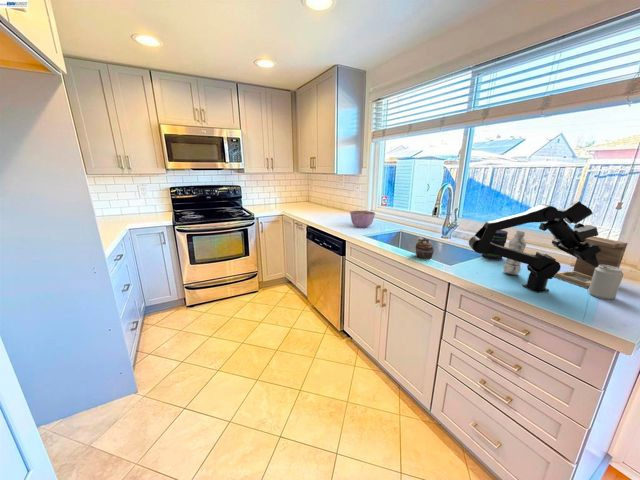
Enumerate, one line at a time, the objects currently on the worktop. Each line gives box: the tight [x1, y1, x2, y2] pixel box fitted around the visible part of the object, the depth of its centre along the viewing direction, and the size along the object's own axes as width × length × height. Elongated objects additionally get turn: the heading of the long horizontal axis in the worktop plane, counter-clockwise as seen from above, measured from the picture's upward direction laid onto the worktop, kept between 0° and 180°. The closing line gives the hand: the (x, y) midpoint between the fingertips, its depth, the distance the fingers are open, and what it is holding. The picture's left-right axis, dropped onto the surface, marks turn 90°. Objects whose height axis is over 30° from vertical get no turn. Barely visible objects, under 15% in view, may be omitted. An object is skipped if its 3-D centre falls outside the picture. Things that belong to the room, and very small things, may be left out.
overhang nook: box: [553, 236, 628, 289], centre depth 116 cm, size 17×14×18 cm
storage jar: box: [481, 229, 509, 261], centre depth 145 cm, size 10×10×15 cm
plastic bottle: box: [502, 230, 527, 276], centre depth 121 cm, size 6×7×20 cm
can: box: [587, 265, 624, 300], centre depth 102 cm, size 8×8×12 cm
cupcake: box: [415, 237, 435, 260], centre depth 144 cm, size 10×10×10 cm
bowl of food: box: [349, 210, 376, 229], centre depth 214 cm, size 20×20×12 cm
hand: (588, 261), depth 102 cm, fingers open, 9 cm apart
